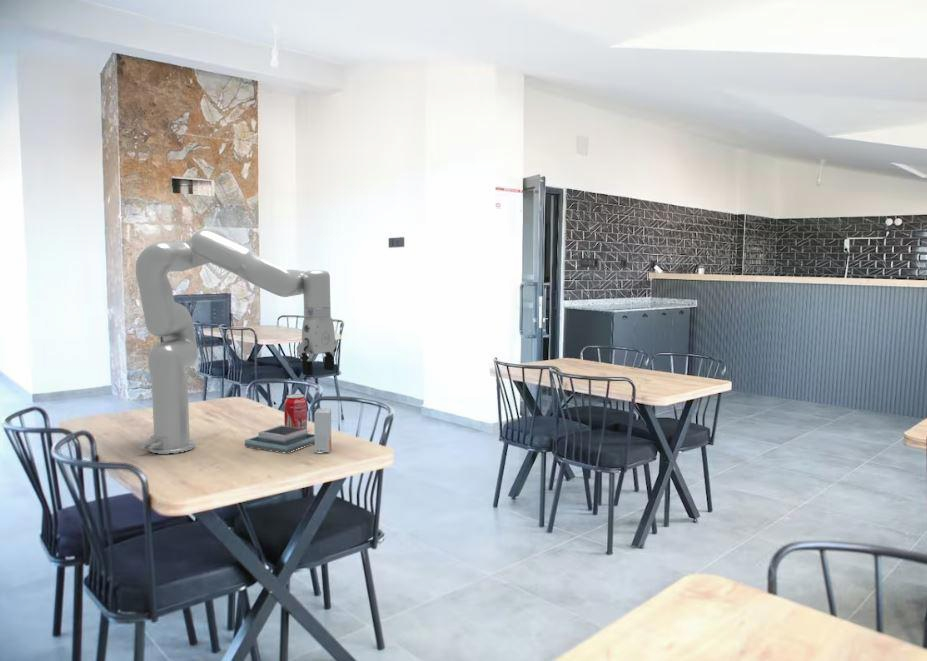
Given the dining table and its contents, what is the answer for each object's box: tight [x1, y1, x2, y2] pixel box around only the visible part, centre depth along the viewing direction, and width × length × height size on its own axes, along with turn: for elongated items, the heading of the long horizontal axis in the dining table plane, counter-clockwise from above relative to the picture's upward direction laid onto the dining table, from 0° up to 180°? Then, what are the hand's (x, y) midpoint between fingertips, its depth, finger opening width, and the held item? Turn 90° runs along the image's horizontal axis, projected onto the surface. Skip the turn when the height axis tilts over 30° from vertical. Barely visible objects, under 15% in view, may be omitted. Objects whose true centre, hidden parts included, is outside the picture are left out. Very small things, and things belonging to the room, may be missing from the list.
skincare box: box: [313, 408, 332, 453], centre depth 196 cm, size 6×4×12 cm
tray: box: [244, 424, 315, 454], centre depth 202 cm, size 15×16×4 cm
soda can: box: [283, 393, 308, 430], centre depth 216 cm, size 7×7×12 cm
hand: (318, 372), depth 195 cm, fingers open, 9 cm apart
